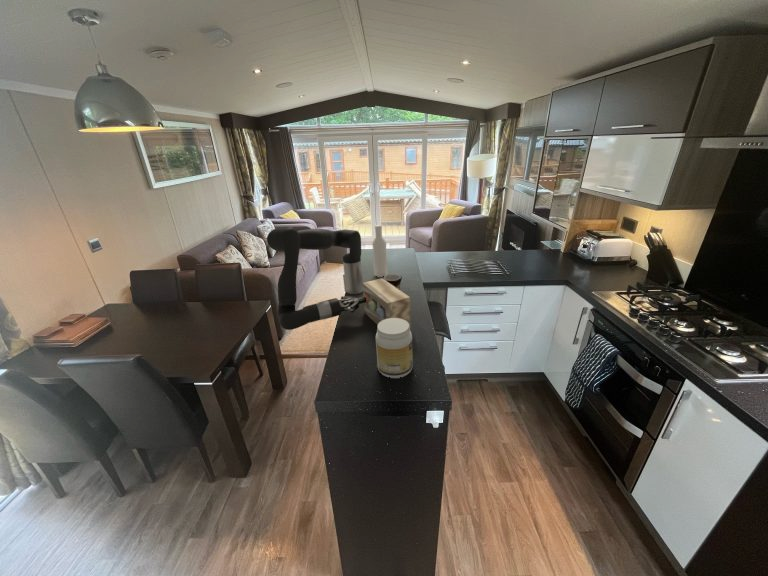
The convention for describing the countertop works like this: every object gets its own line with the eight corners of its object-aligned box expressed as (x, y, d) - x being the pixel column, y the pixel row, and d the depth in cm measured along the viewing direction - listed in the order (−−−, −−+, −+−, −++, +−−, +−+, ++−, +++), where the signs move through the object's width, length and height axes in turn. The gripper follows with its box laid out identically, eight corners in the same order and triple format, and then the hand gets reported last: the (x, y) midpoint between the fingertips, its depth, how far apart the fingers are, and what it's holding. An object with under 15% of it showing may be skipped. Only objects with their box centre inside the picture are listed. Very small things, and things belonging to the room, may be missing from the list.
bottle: (387, 277, 183) (384, 226, 171) (373, 277, 184) (370, 227, 172) (387, 272, 190) (385, 223, 178) (375, 272, 191) (372, 224, 179)
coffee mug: (389, 300, 155) (388, 282, 151) (381, 294, 162) (380, 276, 158) (409, 294, 160) (409, 276, 156) (401, 289, 167) (400, 271, 163)
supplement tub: (417, 376, 102) (417, 332, 95) (381, 382, 100) (378, 338, 93) (407, 354, 113) (406, 313, 106) (374, 360, 111) (371, 319, 104)
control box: (389, 336, 125) (387, 303, 119) (364, 312, 145) (362, 282, 138) (410, 329, 129) (409, 297, 123) (383, 307, 149) (382, 278, 142)
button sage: (372, 312, 129) (372, 303, 128) (368, 308, 133) (368, 300, 131) (377, 311, 130) (376, 302, 128) (372, 307, 134) (372, 298, 132)
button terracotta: (367, 305, 136) (367, 296, 134) (364, 301, 139) (363, 293, 138) (372, 304, 137) (371, 295, 135) (368, 300, 140) (367, 292, 138)
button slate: (381, 320, 123) (380, 311, 121) (376, 316, 127) (375, 307, 125) (385, 319, 124) (385, 309, 122) (380, 314, 127) (380, 305, 126)
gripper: (332, 307, 123) (371, 296, 130) (322, 295, 134) (359, 286, 141) (334, 323, 126) (372, 312, 133) (324, 310, 137) (360, 301, 144)
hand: (365, 299), depth 137 cm, fingers closed
